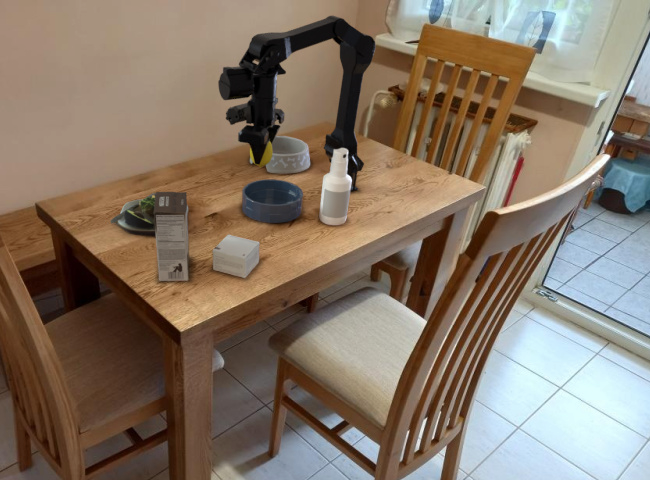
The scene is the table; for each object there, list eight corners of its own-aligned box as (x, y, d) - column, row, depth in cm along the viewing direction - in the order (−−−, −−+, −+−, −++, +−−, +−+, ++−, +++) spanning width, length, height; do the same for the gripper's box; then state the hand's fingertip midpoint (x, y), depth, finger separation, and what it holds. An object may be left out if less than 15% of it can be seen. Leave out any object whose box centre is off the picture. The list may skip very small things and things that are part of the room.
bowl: (286, 193, 156) (287, 176, 153) (311, 218, 144) (313, 200, 141) (233, 201, 151) (233, 183, 148) (255, 228, 139) (256, 209, 136)
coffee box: (160, 258, 127) (155, 190, 117) (189, 258, 127) (187, 190, 118) (158, 281, 119) (152, 211, 110) (189, 281, 120) (186, 211, 110)
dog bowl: (279, 146, 183) (280, 129, 180) (322, 164, 173) (323, 147, 169) (238, 159, 174) (238, 142, 171) (281, 179, 163) (282, 161, 160)
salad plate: (124, 198, 150) (122, 181, 147) (193, 200, 150) (192, 184, 147) (107, 235, 134) (105, 217, 132) (184, 237, 134) (183, 220, 132)
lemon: (269, 173, 140) (271, 141, 136) (247, 170, 141) (248, 138, 137) (273, 164, 145) (275, 133, 140) (251, 162, 146) (252, 130, 141)
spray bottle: (328, 228, 141) (337, 157, 130) (313, 216, 145) (320, 147, 135) (351, 222, 143) (361, 153, 133) (336, 211, 148) (344, 143, 138)
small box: (259, 261, 127) (260, 241, 124) (244, 279, 121) (245, 258, 118) (228, 253, 129) (228, 233, 126) (211, 270, 124) (211, 249, 121)
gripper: (243, 80, 142) (241, 142, 151) (216, 102, 127) (216, 168, 136) (286, 86, 139) (282, 148, 149) (265, 108, 125) (262, 176, 134)
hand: (260, 159), depth 142 cm, fingers closed on lemon, 5 cm apart
